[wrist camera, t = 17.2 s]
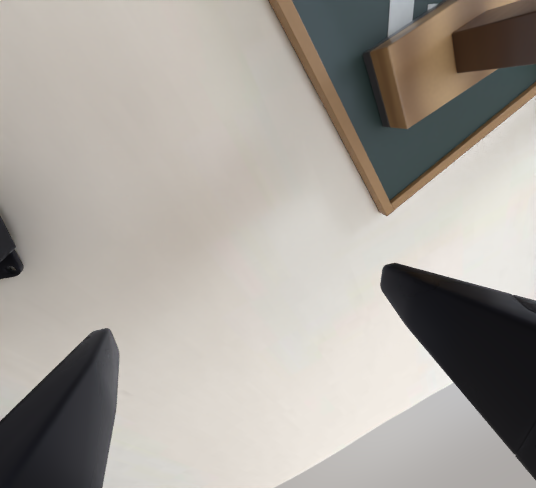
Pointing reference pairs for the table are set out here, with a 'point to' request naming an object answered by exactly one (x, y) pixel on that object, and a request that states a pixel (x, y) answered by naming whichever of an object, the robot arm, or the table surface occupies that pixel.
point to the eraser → (448, 55)
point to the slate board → (364, 104)
